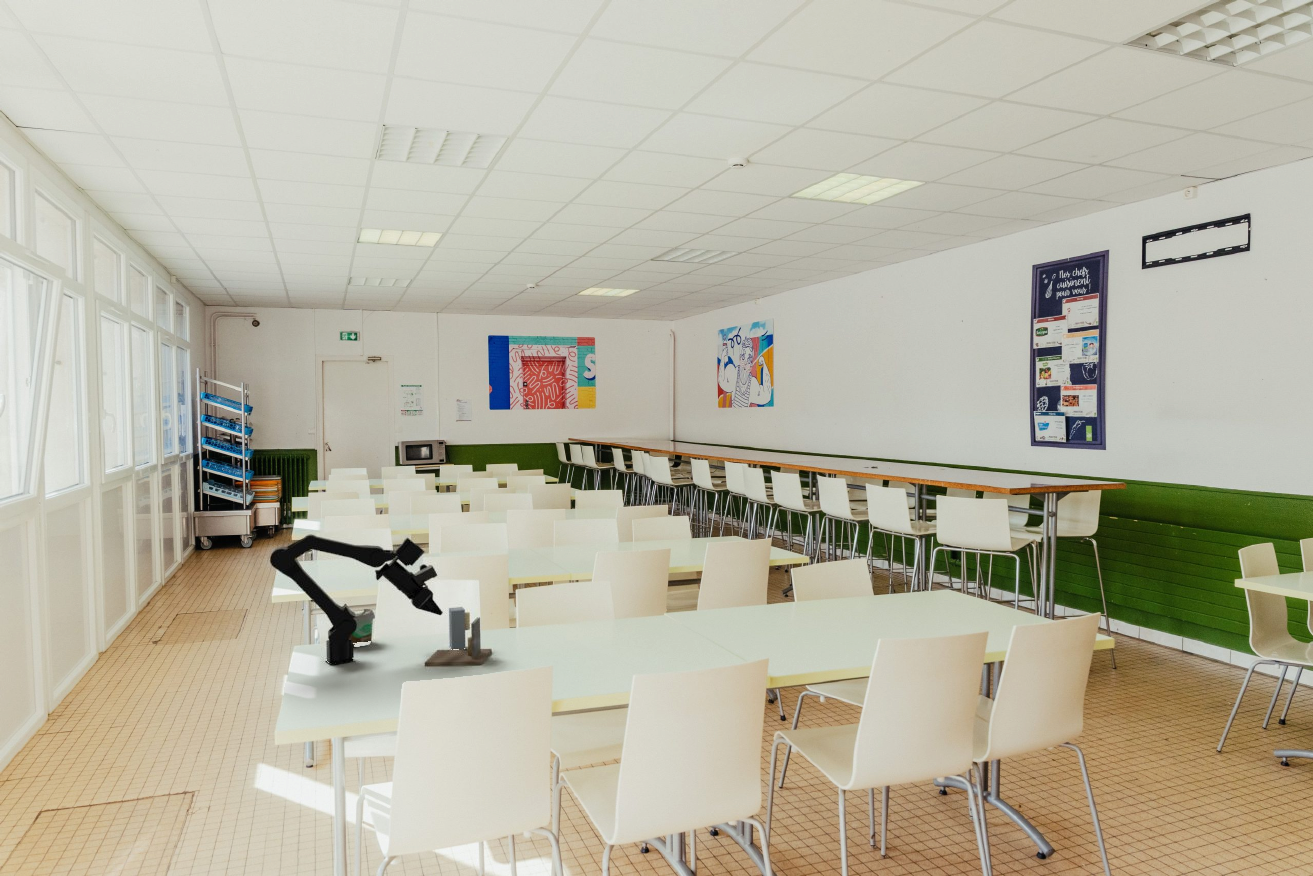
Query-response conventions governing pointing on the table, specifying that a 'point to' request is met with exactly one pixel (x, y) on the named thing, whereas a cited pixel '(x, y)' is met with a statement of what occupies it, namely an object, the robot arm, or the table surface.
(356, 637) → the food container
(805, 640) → the table surface
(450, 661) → the hinge jig
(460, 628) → the loose hinge leaf
